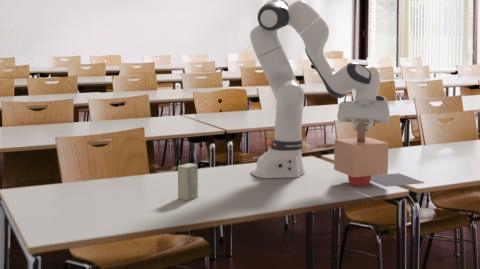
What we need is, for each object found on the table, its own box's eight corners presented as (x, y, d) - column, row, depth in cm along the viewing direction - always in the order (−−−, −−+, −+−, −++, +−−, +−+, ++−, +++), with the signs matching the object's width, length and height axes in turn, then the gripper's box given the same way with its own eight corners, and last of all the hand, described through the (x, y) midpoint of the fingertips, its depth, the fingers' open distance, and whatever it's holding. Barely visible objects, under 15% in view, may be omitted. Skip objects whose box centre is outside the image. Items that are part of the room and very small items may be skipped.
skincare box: (189, 195, 248) (189, 162, 246) (198, 197, 246) (198, 164, 244) (177, 198, 244) (177, 165, 242) (186, 200, 241) (186, 167, 239)
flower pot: (373, 188, 260) (374, 163, 258) (344, 186, 262) (345, 162, 261) (373, 182, 270) (374, 158, 269) (345, 180, 272) (346, 156, 271)
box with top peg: (353, 177, 256) (354, 127, 253) (334, 169, 270) (334, 121, 267) (387, 174, 261) (389, 124, 258) (366, 166, 275) (368, 119, 272)
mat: (385, 187, 261) (386, 186, 261) (361, 177, 278) (361, 176, 278) (425, 183, 268) (425, 182, 268) (398, 174, 284) (399, 173, 284)
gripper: (338, 96, 271) (333, 124, 263) (391, 98, 264) (387, 126, 256) (340, 106, 275) (335, 133, 268) (392, 108, 269) (388, 136, 261)
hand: (361, 130), depth 262 cm, fingers closed on box with top peg, 3 cm apart
